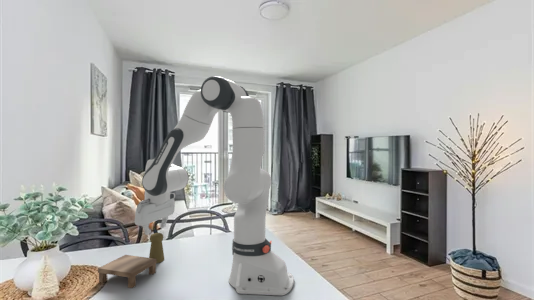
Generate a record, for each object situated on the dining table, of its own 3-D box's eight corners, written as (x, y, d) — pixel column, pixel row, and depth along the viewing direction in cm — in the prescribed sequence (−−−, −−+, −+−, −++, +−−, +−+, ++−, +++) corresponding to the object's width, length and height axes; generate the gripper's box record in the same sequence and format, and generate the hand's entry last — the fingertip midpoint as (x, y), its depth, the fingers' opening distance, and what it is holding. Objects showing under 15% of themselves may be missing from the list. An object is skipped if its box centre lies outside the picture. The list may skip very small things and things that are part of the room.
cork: (158, 264, 106) (158, 236, 105) (145, 262, 107) (145, 235, 107) (167, 258, 111) (167, 231, 111) (154, 256, 113) (154, 230, 113)
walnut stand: (156, 272, 99) (156, 258, 99) (132, 288, 87) (132, 273, 87) (125, 267, 102) (125, 254, 102) (97, 282, 91) (98, 268, 91)
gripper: (144, 202, 98) (144, 239, 98) (177, 193, 118) (176, 224, 118) (130, 201, 100) (130, 237, 100) (165, 192, 120) (164, 223, 120)
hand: (155, 230), depth 109 cm, fingers open, 8 cm apart
